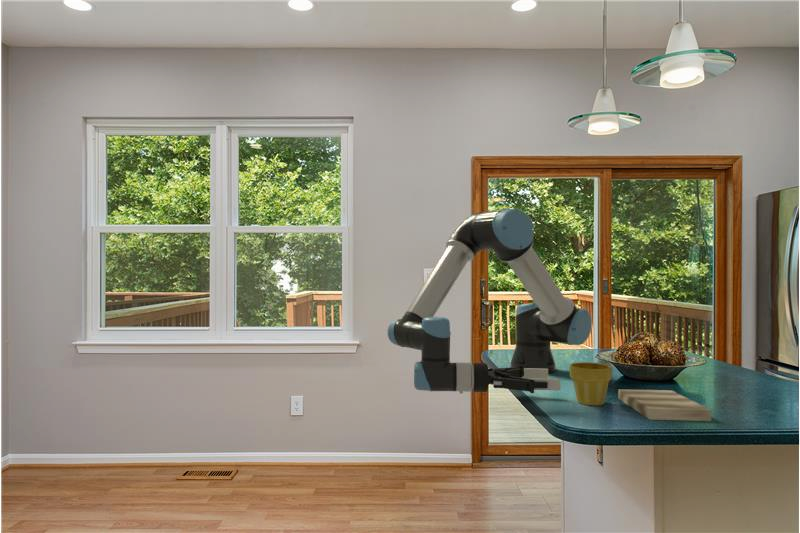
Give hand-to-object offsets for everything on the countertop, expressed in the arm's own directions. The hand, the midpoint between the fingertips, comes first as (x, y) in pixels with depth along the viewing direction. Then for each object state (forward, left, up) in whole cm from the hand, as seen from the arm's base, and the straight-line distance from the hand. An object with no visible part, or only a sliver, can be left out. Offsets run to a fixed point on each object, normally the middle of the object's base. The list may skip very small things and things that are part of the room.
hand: (553, 378), depth 139 cm
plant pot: (0, +9, -6) cm, 11 cm away
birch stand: (+5, +25, -6) cm, 27 cm away
